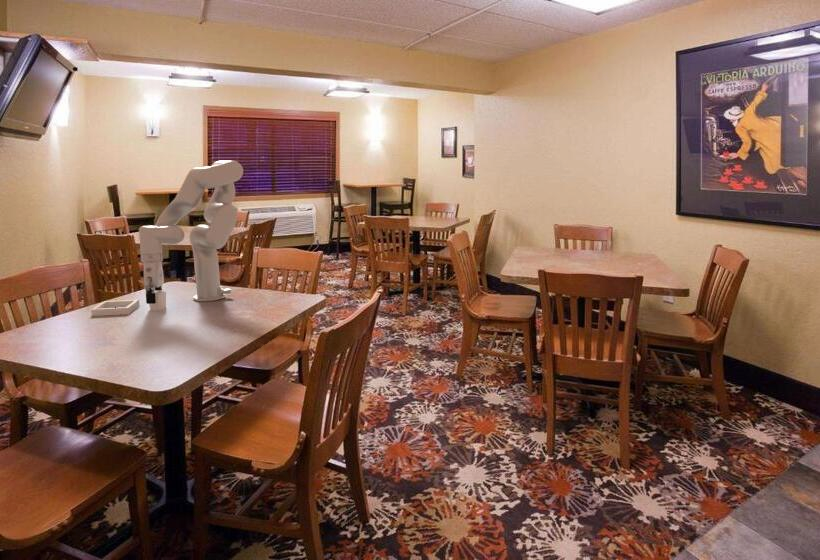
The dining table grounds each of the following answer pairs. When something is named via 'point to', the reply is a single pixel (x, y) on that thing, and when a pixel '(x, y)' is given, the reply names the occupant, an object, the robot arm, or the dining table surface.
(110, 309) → the box
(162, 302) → the shot glass
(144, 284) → the robot arm
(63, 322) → the dining table surface
